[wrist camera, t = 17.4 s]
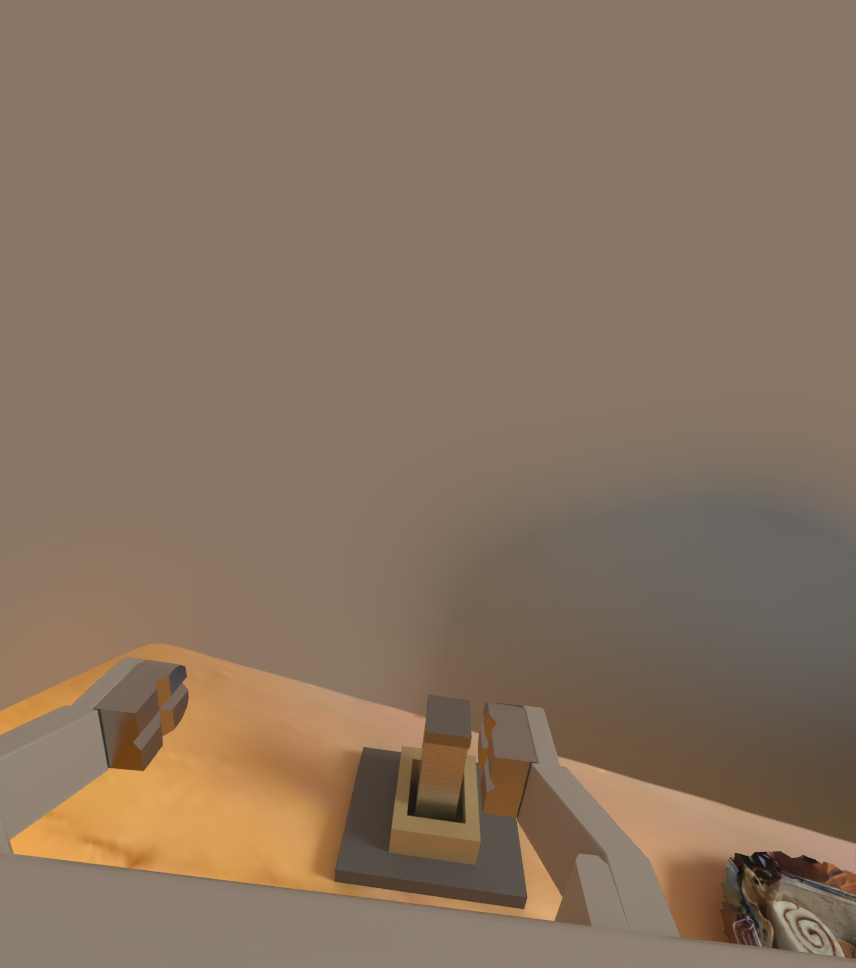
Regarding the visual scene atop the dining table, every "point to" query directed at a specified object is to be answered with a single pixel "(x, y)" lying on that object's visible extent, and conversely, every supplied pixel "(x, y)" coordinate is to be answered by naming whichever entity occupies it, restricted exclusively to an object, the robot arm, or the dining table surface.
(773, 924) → the baking tray
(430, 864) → the keeper plate
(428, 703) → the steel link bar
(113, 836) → the dining table surface
